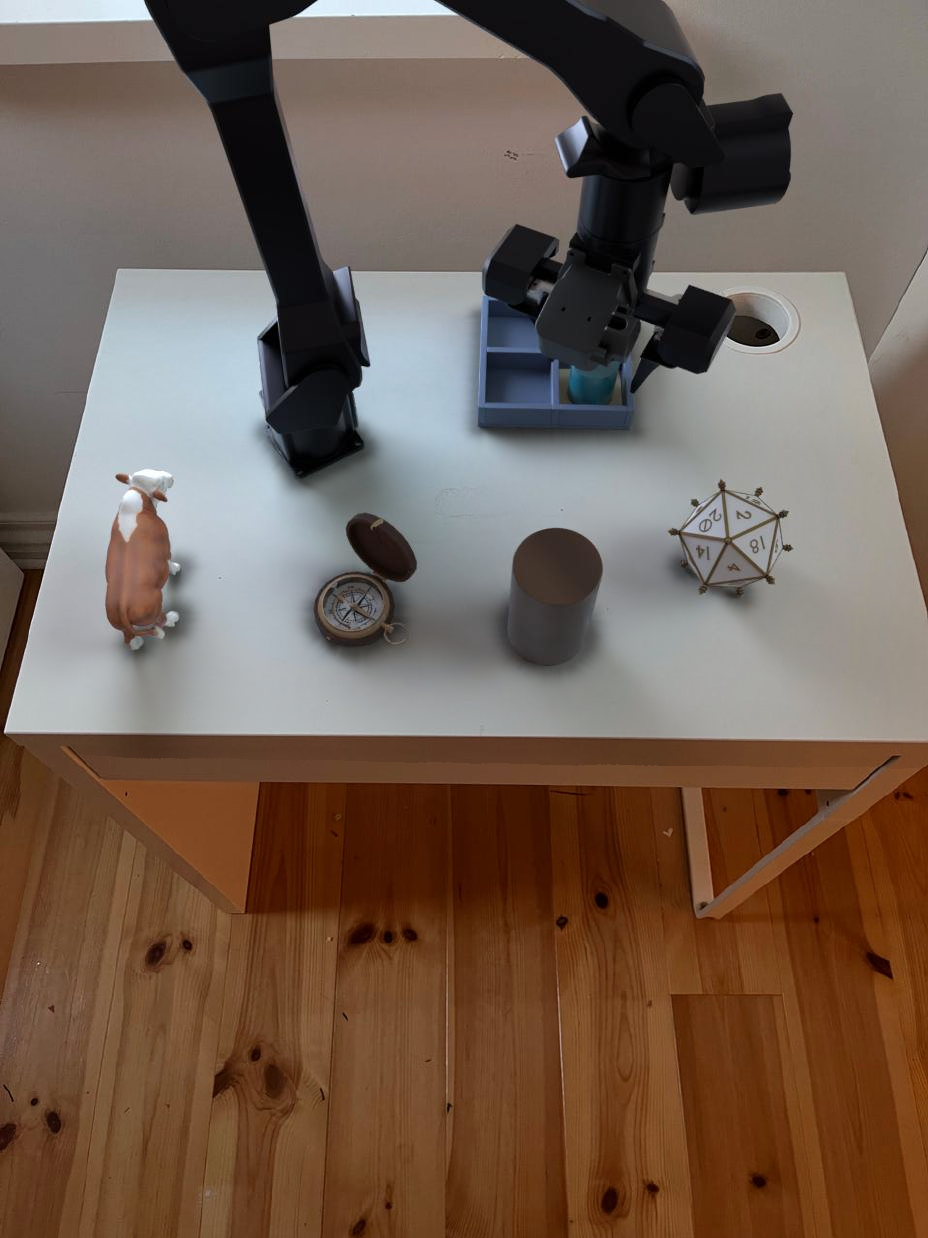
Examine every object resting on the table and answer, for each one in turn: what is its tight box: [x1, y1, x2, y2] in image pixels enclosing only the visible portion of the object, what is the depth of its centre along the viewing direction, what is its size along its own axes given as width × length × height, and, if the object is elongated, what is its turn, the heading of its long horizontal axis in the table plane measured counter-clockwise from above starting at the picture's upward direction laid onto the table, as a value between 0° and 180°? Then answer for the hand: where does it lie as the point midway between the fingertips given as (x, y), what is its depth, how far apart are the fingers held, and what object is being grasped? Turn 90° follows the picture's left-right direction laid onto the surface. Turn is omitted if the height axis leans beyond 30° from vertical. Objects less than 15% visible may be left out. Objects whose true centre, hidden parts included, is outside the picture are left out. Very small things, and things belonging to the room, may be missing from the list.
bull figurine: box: [104, 469, 182, 651], centre depth 66 cm, size 4×13×8 cm, turn 179°
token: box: [567, 361, 620, 405], centre depth 76 cm, size 4×4×4 cm
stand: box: [507, 527, 604, 666], centre depth 64 cm, size 6×6×10 cm
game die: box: [667, 478, 795, 598], centre depth 67 cm, size 9×8×10 cm
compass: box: [313, 512, 418, 647], centre depth 65 cm, size 8×8×7 cm
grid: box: [477, 294, 635, 430], centre depth 78 cm, size 13×13×2 cm
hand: (593, 373), depth 75 cm, fingers open, 7 cm apart
